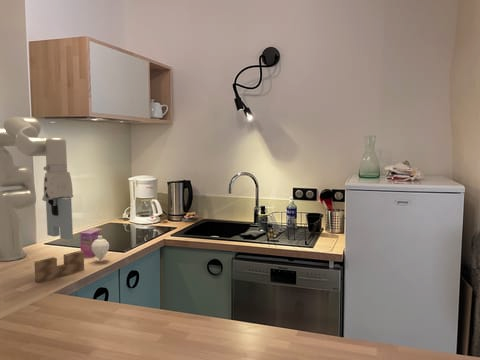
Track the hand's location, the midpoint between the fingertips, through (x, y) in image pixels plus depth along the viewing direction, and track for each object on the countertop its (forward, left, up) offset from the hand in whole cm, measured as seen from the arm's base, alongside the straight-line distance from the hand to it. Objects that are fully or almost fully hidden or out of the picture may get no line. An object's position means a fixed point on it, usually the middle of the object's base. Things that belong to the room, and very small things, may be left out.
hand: (58, 214), depth 169 cm
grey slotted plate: (0, 0, -9) cm, 9 cm away
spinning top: (+13, +17, -26) cm, 33 cm away
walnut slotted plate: (0, 0, -25) cm, 25 cm away
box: (+7, +30, -26) cm, 40 cm away
